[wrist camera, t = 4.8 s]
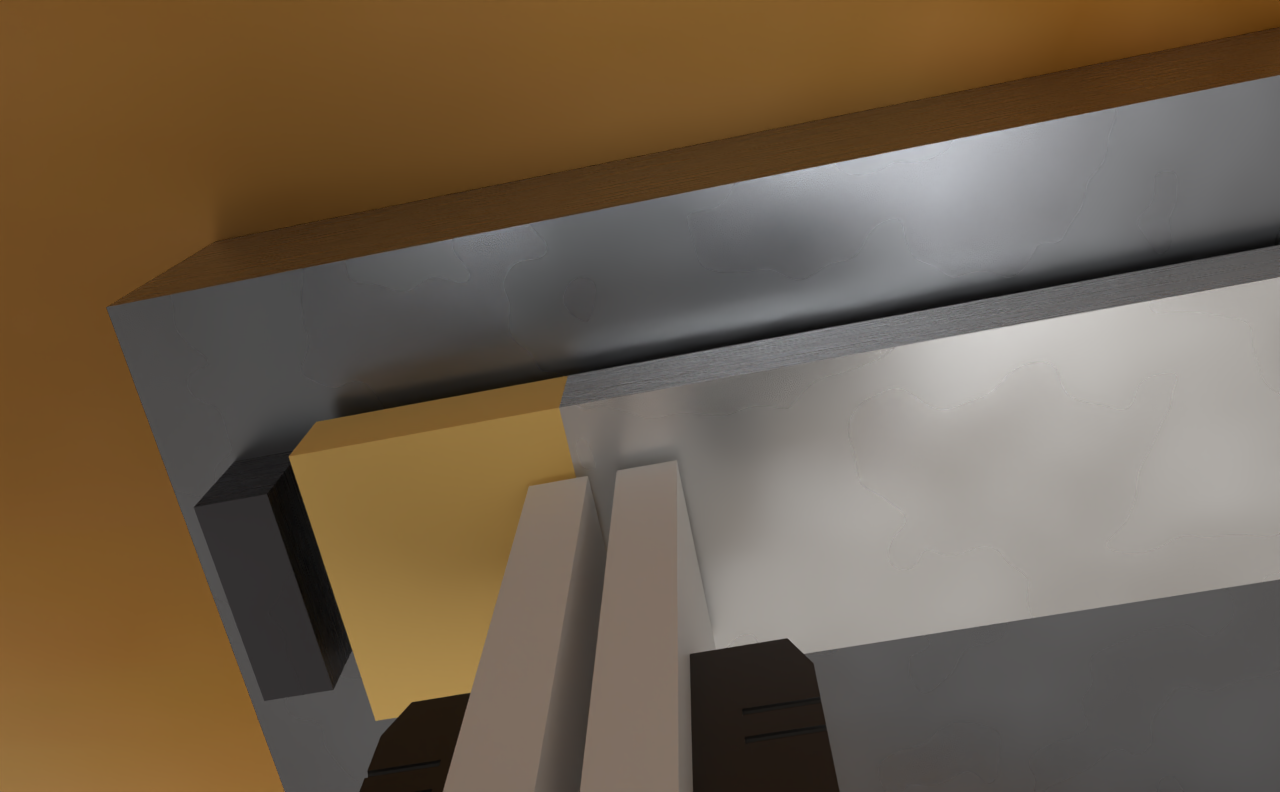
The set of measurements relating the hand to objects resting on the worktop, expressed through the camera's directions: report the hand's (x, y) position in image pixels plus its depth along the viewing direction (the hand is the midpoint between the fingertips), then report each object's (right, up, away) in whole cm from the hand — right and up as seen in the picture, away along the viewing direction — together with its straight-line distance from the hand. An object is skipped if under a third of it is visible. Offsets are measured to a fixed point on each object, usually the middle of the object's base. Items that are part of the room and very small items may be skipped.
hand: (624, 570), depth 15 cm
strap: (+5, +2, +1) cm, 5 cm away
